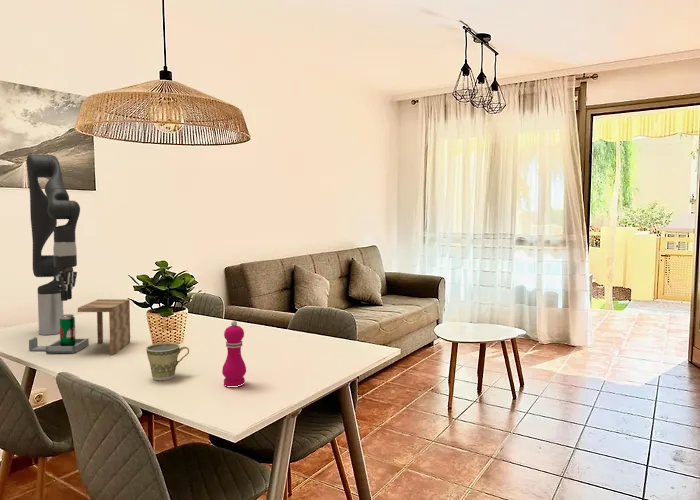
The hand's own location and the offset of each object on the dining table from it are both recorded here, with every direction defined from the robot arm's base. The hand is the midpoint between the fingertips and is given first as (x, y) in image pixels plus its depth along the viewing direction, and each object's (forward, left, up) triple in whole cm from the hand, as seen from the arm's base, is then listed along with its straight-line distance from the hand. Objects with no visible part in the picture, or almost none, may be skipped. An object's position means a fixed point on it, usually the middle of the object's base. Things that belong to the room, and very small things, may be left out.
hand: (66, 299), depth 190 cm
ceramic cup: (+33, +46, -19) cm, 60 cm away
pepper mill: (+41, +68, -19) cm, 82 cm away
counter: (-1, +14, -19) cm, 23 cm away
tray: (0, -4, -19) cm, 19 cm away
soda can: (0, 0, -18) cm, 18 cm away
